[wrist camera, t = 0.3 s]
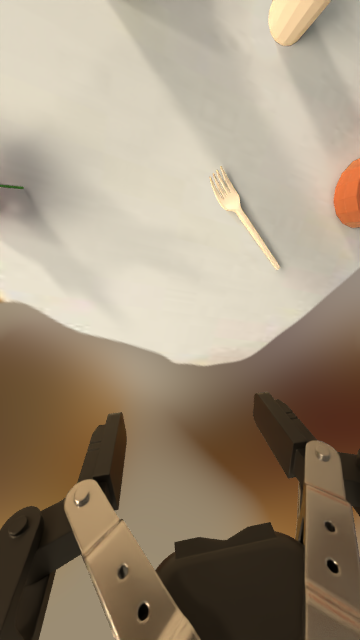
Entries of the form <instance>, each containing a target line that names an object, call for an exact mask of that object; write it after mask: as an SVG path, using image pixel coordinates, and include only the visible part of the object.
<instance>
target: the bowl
mask: <svg viewBox="0 0 360 640" xmlns="http://www.w3.org/2000/svg"><path fill="white" fill-rule="evenodd" d="M334 206H335V211H336V215H337V216H338V218H339V219H340V221H341V222H342V223H343V224H345V225H347V226H349V227H351V228H357V227H360V158H359V159H357V160H355V161H353V162H352V163H351V164H350V165H349V166H348V167H347V169H346V170H345V171H344V172H343V173H342V175H341V177H340V179H339V181H338V183H337V186H336V189H335V196H334Z"/></svg>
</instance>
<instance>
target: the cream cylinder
mask: <svg viewBox="0 0 360 640" xmlns="http://www.w3.org/2000/svg"><path fill="white" fill-rule="evenodd" d="M330 2H331V0H273V2H272V5H271V8H270V11H269V27H270V32H271V34H272V36H273V38H274V39H275V41H276V42H278V43H279V44H281V45H282V46H290V45H292V44H294V43H295V42H297V41H298V40H299V38H300V37H301V36H302V35H303V34H304V32H305V31H306V30H307V29H308V28H309V27H310V25H311V24H312V23H313V22H314V21H315V19H316V18H317V17H318V16H319V15H320V13H321V12H322V11H323V10H324V9H325V7H326V6H327V5H328V4H329V3H330Z"/></svg>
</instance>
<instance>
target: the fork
mask: <svg viewBox="0 0 360 640" xmlns="http://www.w3.org/2000/svg"><path fill="white" fill-rule="evenodd" d="M220 168H221V171H222V174H223V177H224V179H225V182H226V184H227V186H228V188H229V190H230V192H229V191H228V189H227V187H226V186H225V184H224V182H223V180H222V178H221V176H220V174H219V172H218V170H216V172H217V175H218V178H219V180H220V182H221V185H222V187H223V189H224V190H225V192H226V194H227V196H226V194H225V193H224V191H223V190H222V188H221V186H220V184H219V182H218V181H217V178H216V176H215V174H214V173H213V177H214V180H215V182H216V184H217V187H218V189H219V191H220V192H221V194H222V196H223V198H224V199H223V198H222V197H221V195H220V193H219V192H218V190H217V188H216V186H215V185H214V183H213V181H212V178H211V177H210V182H211V185H212V188H213V191H214V194H215V196H216V198H217V200H218V202H219V204H220V205H221V207H222V208H223V209H225V210H227V211H234V212H235V213H236V214H237V215H238V217H239V218H240V219H241V221H242V222H243V224H244V225H245V226H246V228H247V229H248V231H249V232H250V233H251V235H252V236H253V238H254V239H255V240H256V242H257V243H258V245H259V246H260V247H261V249H262V250H263V252H264V253H265V255H266V256H267V257H268V259H269V260H270V262H271V263H272V264H273V266H274V267H275V269H276V270H278V269H279V268H280V266H279V264H278V263H277V261H276V260H275V258H274V257H273V255H272V254H271V252H270V251H269V249H268V248H267V246H266V245H265V243H264V242H263V240H262V239H261V237H260V236H259V234H258V233H257V231H256V230H255V228H254V227H253V225H252V224H251V222H250V221H249V219H248V218H247V216H246V215H245V213H244V212H243V210H242V209H241V206H240V197H239V195H238V193H237V192H236V190H235V189H234V187H233V185H232V184H231V182H230V181H229V179H228V177H227V175H226V173H225V172H224V170H223V168H222V166H220Z"/></svg>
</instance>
